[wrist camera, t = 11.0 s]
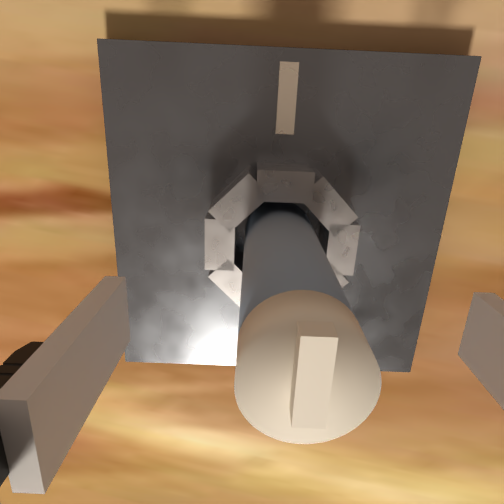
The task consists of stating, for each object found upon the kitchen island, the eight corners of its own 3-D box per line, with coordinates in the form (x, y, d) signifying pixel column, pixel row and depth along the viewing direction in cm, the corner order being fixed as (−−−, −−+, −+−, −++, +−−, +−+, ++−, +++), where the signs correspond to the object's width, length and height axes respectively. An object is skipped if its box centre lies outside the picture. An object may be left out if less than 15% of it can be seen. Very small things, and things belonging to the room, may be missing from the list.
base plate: (402, 359, 29) (427, 402, 24) (131, 348, 28) (110, 391, 24) (466, 59, 22) (518, 48, 17) (107, 42, 21) (71, 27, 17)
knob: (307, 263, 24) (376, 467, 11) (244, 260, 24) (231, 462, 11) (313, 199, 23) (403, 340, 9) (246, 196, 23) (235, 333, 9)
